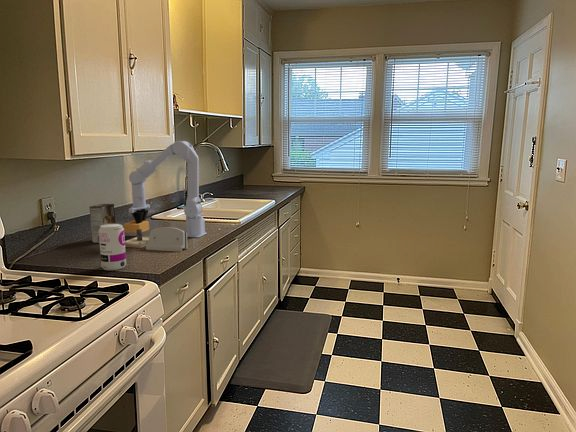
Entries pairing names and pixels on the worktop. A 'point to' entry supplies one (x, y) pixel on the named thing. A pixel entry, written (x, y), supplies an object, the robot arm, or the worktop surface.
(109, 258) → the supplement can
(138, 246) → the keeper board
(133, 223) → the orange square frame
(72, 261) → the worktop surface
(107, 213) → the coffee box
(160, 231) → the grey napkin holder
